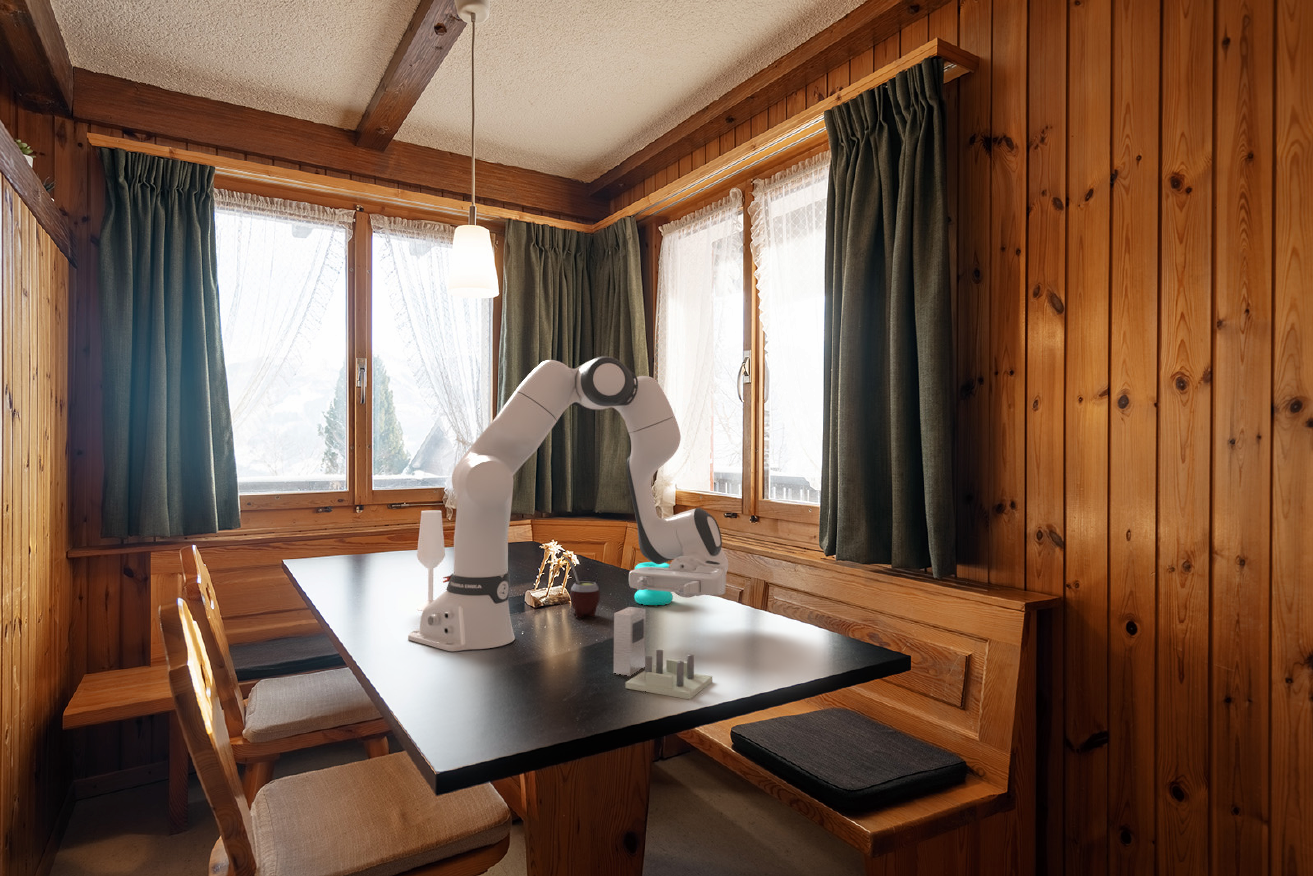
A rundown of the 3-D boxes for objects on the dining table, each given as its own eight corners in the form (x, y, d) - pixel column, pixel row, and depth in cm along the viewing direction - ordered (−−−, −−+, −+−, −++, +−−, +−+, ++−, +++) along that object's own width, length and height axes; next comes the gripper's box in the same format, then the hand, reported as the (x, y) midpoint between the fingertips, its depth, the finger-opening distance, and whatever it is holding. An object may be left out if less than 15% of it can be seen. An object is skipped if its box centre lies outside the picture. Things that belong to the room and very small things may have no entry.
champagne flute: (419, 605, 191) (420, 509, 191) (446, 604, 191) (447, 509, 191) (413, 611, 184) (414, 512, 184) (442, 610, 185) (443, 512, 185)
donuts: (675, 561, 201) (670, 568, 191) (675, 599, 201) (669, 608, 191) (638, 560, 202) (631, 566, 192) (638, 597, 202) (630, 606, 192)
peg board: (625, 688, 130) (625, 659, 130) (651, 672, 139) (651, 644, 139) (689, 699, 125) (690, 669, 125) (712, 681, 134) (712, 653, 134)
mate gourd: (605, 616, 182) (605, 553, 181) (585, 622, 175) (585, 557, 175) (580, 611, 186) (581, 550, 185) (560, 618, 179) (560, 554, 179)
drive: (613, 673, 138) (614, 613, 138) (628, 664, 143) (629, 606, 143) (630, 676, 136) (630, 615, 136) (645, 667, 142) (645, 608, 142)
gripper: (645, 558, 168) (614, 568, 155) (732, 564, 159) (707, 576, 146) (645, 586, 168) (615, 599, 155) (732, 594, 159) (707, 608, 146)
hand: (660, 587), depth 151 cm, fingers open, 8 cm apart
